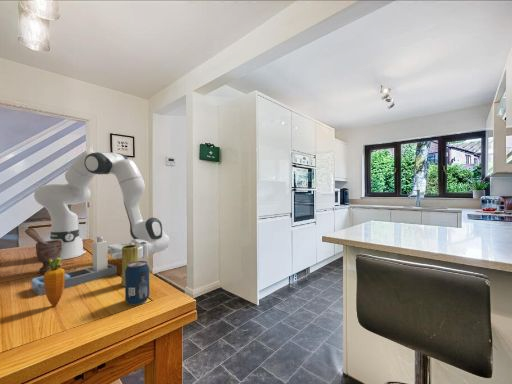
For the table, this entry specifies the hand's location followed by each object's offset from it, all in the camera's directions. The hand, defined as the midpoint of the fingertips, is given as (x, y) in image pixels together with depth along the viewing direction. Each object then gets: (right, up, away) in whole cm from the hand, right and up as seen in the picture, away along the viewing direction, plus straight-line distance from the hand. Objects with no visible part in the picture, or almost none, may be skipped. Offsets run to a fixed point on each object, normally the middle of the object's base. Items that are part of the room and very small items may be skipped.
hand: (106, 254), depth 100 cm
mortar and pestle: (-28, -8, +1) cm, 29 cm away
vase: (+16, -8, -11) cm, 22 cm away
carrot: (+3, -8, -29) cm, 30 cm away
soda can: (+26, -8, -25) cm, 38 cm away
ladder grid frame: (-6, -8, -9) cm, 13 cm away
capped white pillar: (-1, -8, -2) cm, 8 cm away
